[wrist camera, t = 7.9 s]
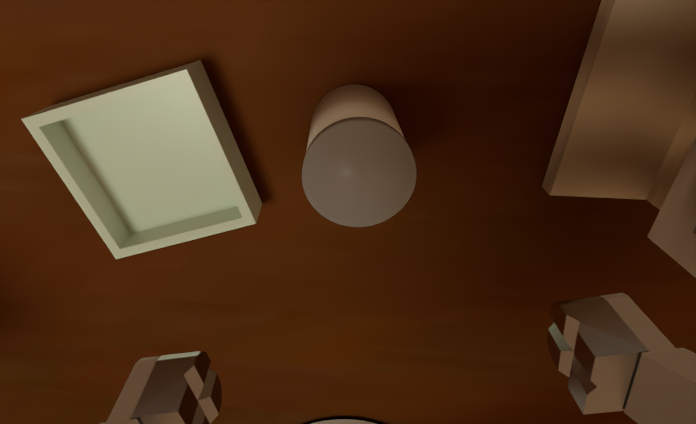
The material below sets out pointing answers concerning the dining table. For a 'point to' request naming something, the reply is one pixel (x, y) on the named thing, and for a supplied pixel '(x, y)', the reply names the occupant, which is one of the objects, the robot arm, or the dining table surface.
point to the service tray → (150, 160)
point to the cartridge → (357, 158)
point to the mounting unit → (636, 118)
